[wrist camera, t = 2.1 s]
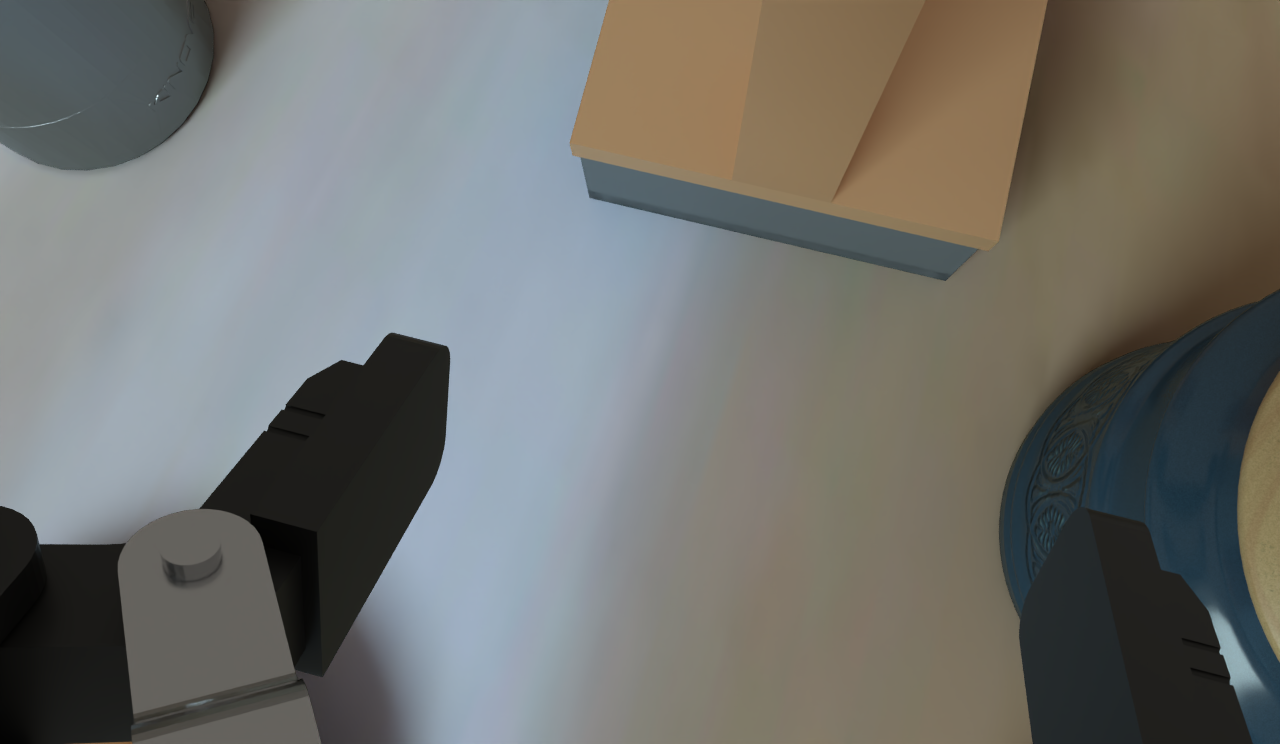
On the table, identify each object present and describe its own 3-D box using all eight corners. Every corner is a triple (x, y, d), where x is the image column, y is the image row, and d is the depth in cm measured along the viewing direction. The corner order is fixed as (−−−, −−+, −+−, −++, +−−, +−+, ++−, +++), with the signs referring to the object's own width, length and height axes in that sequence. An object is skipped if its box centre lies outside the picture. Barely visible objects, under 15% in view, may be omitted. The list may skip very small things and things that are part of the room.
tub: (589, 197, 37) (577, 144, 32) (694, -188, 40) (697, -292, 35) (945, 280, 36) (988, 239, 32) (1029, -120, 39) (1081, -216, 34)
